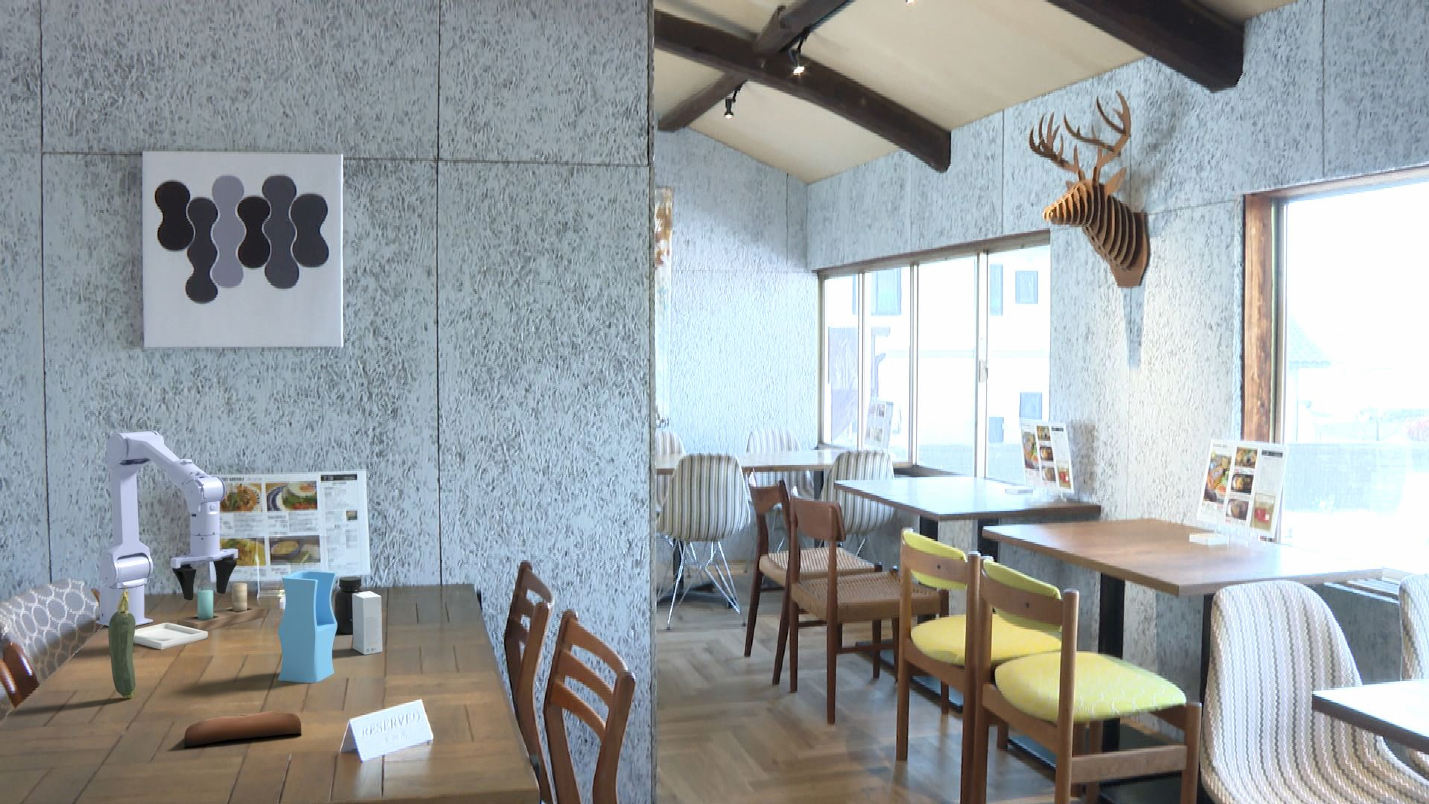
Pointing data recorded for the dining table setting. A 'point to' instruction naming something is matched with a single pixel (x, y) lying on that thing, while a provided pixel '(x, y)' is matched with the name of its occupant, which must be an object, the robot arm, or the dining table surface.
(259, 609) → the rack
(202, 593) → the teal dowel
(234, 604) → the birch dowel
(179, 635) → the tray
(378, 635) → the skincare box
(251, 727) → the sunglasses case
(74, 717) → the dining table surface
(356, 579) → the supplement bottle
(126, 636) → the vegetable
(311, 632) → the vase
